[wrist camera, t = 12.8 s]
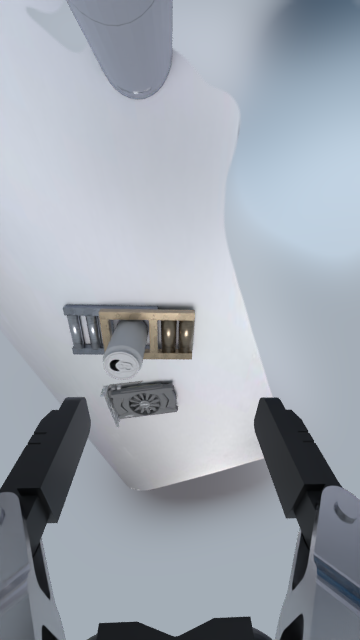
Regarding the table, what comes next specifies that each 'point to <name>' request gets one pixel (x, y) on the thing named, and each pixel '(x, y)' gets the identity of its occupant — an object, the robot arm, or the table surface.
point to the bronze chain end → (156, 330)
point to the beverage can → (126, 349)
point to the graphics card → (139, 399)
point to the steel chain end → (91, 326)
